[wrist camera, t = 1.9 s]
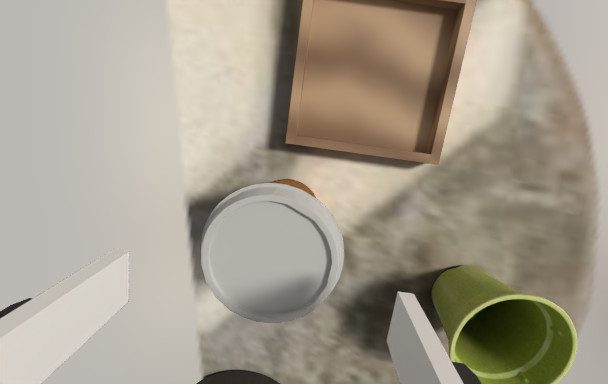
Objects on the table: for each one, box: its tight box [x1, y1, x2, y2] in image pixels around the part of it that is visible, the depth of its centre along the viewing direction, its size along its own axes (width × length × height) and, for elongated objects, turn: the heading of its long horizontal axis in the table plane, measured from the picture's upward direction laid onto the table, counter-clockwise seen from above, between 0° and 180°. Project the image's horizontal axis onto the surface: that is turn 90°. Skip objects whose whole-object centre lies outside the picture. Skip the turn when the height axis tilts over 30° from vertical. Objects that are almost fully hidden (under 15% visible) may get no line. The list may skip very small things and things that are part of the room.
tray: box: [285, 0, 477, 165], centre depth 27 cm, size 14×14×2 cm
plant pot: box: [432, 265, 577, 384], centre depth 28 cm, size 9×9×9 cm
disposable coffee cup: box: [200, 179, 344, 323], centre depth 25 cm, size 10×10×12 cm
